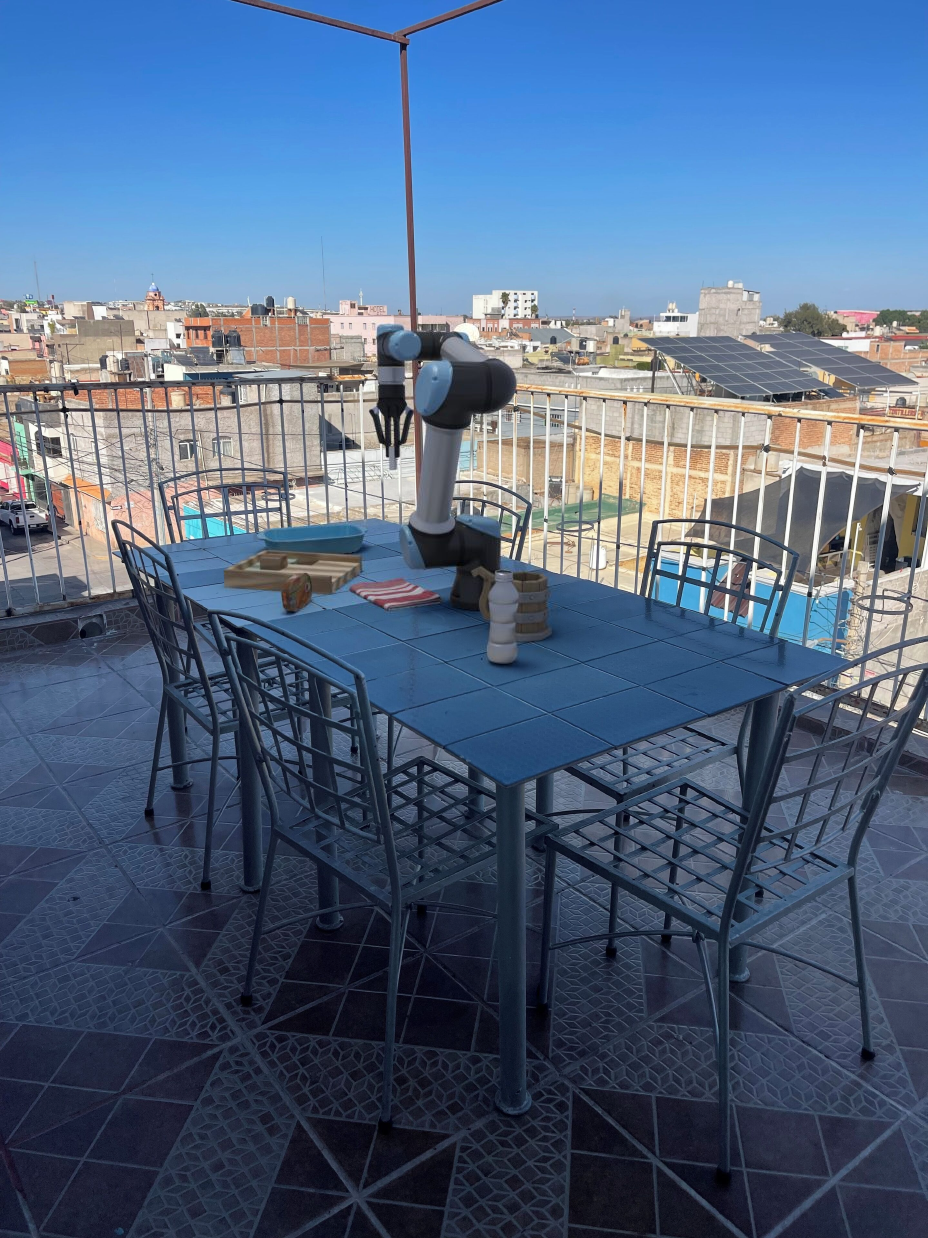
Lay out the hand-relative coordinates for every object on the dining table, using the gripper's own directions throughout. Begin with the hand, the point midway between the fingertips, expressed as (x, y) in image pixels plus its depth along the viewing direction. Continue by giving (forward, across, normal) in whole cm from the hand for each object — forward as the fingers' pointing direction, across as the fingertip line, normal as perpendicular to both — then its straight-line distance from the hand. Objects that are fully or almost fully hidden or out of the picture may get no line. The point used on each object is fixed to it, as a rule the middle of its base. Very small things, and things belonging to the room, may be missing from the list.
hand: (393, 469), depth 241 cm
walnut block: (+29, +35, +6) cm, 46 cm away
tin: (+33, +17, +34) cm, 50 cm away
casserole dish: (+32, +37, -30) cm, 57 cm away
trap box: (+32, +28, +7) cm, 43 cm away
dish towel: (+33, -5, +18) cm, 38 cm away
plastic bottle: (+33, -41, +64) cm, 83 cm away
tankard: (+33, -40, +42) cm, 67 cm away
